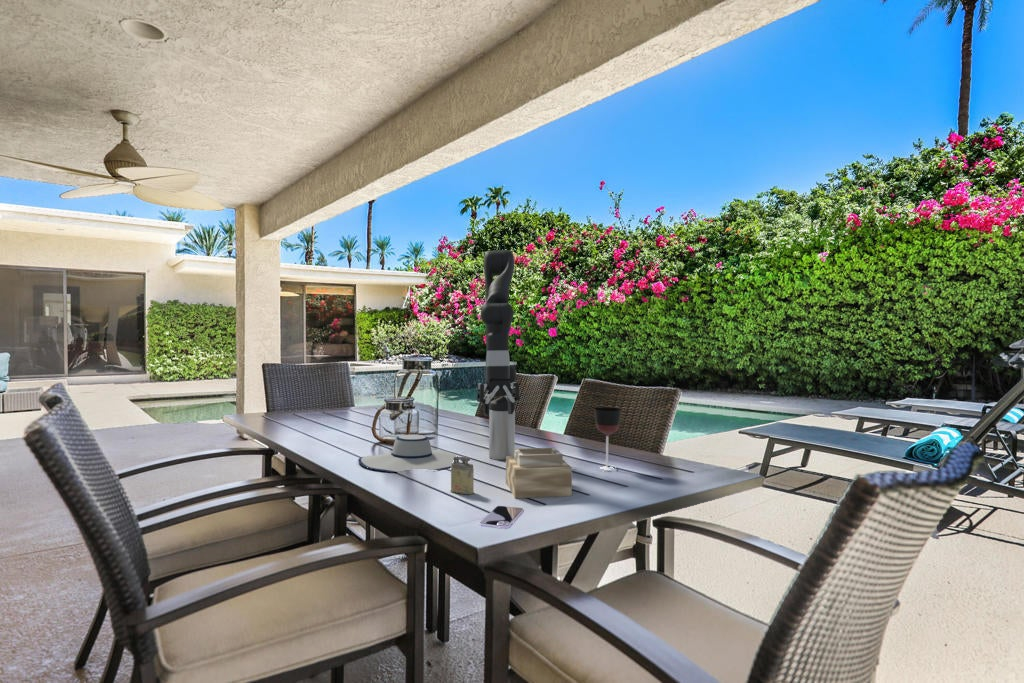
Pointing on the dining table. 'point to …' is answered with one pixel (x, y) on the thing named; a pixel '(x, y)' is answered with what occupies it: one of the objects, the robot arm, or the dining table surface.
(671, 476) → the dining table surface
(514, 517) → the mobile phone
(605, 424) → the wineglass
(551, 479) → the holder stand
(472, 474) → the lighter
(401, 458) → the sun hat
